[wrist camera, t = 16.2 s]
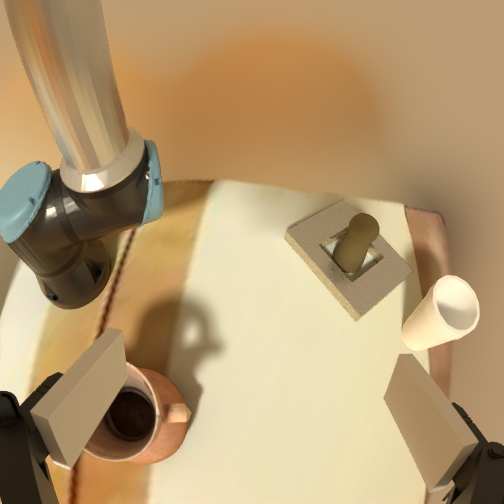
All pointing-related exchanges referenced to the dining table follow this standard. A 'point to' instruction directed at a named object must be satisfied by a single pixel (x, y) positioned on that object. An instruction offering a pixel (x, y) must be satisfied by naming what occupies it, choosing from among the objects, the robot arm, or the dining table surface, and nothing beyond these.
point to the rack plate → (346, 292)
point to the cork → (356, 243)
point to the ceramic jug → (142, 420)
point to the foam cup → (442, 314)
